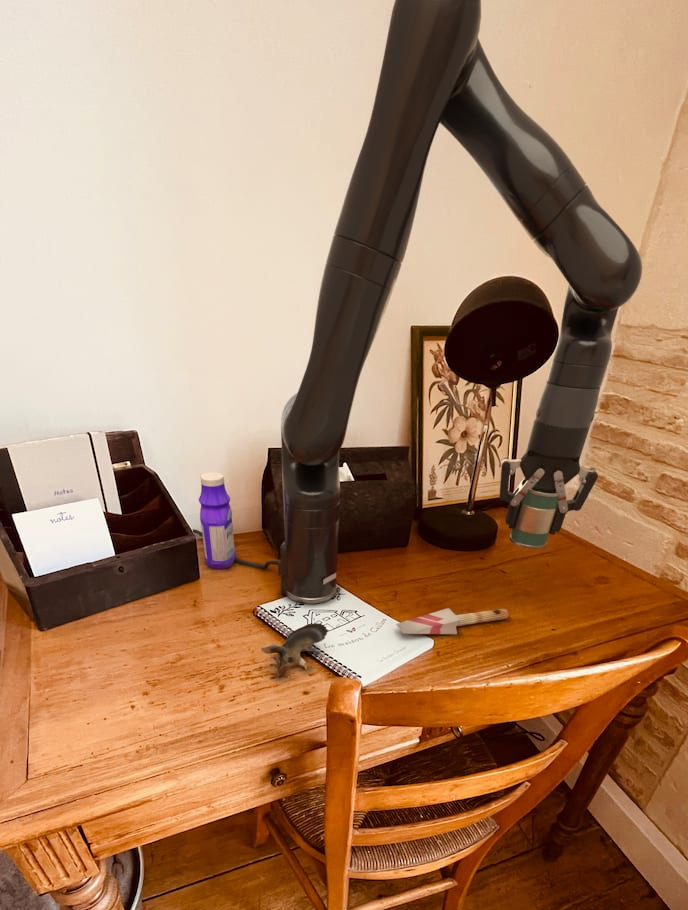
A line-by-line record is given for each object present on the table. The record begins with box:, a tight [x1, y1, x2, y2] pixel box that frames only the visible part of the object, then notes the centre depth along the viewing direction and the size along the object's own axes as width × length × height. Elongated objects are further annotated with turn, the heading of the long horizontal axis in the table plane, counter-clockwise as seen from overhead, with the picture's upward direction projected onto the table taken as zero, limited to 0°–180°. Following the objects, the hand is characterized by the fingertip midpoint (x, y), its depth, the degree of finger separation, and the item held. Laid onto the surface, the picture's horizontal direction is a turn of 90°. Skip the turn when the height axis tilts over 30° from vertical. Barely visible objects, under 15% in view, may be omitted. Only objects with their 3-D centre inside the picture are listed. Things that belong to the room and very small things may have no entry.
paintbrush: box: [395, 607, 509, 635], centre depth 86 cm, size 4×3×20 cm
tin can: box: [509, 482, 561, 550], centre depth 83 cm, size 6×6×9 cm
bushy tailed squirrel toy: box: [260, 622, 329, 678], centre depth 77 cm, size 8×7×9 cm
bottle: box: [198, 471, 236, 570], centre depth 98 cm, size 7×6×17 cm
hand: (530, 529), depth 84 cm, fingers closed on tin can, 5 cm apart
